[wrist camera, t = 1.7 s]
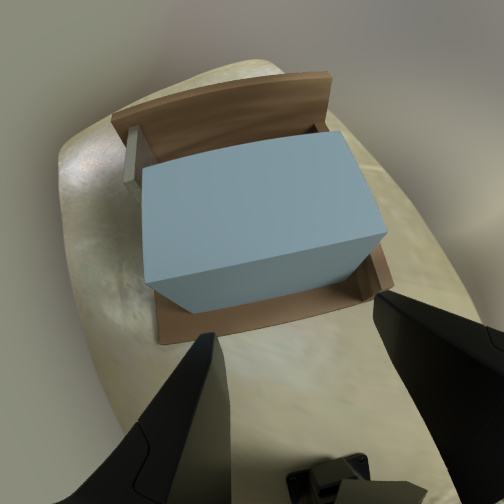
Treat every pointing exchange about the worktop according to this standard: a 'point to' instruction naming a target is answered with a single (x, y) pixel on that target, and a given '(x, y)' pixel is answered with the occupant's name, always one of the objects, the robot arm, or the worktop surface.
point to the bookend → (137, 161)
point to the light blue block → (256, 221)
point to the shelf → (236, 133)
